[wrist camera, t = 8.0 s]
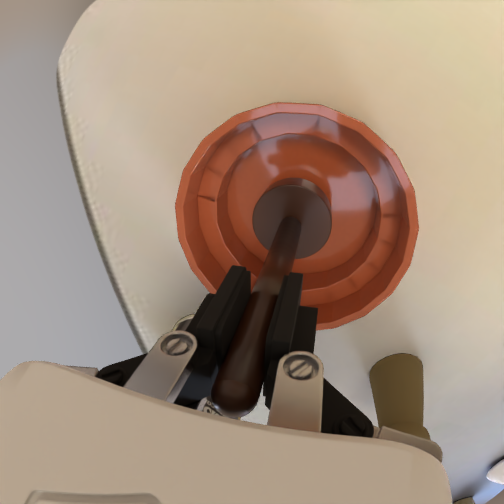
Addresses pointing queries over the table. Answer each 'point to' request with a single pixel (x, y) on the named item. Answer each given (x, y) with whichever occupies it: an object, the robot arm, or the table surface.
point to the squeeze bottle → (465, 501)
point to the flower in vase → (497, 473)
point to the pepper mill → (399, 394)
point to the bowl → (327, 179)
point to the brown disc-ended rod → (270, 284)
